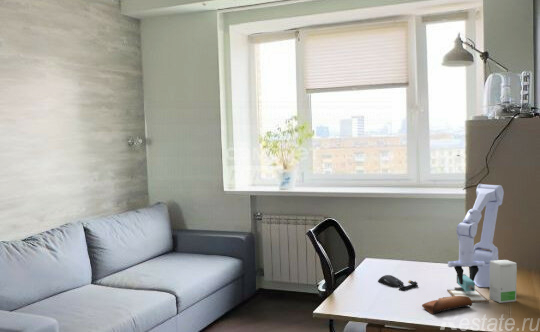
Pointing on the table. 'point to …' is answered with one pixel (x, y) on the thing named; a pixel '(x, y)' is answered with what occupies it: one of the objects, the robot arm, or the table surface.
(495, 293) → the skincare box
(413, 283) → the computer mouse
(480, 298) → the clipboard
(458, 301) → the sunglasses case
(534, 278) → the table surface
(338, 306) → the table surface
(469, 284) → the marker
